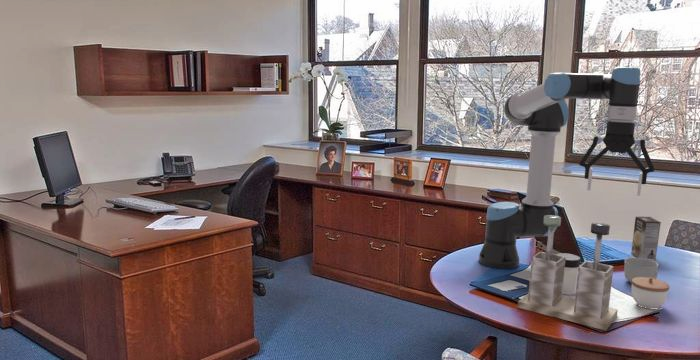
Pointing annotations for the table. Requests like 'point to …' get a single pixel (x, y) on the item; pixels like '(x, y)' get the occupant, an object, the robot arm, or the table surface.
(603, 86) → the robot arm
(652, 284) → the lidded jar
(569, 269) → the jar
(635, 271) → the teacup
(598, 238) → the plunger
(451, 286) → the table surface
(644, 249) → the coffee box
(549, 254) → the plunger
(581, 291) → the stand
